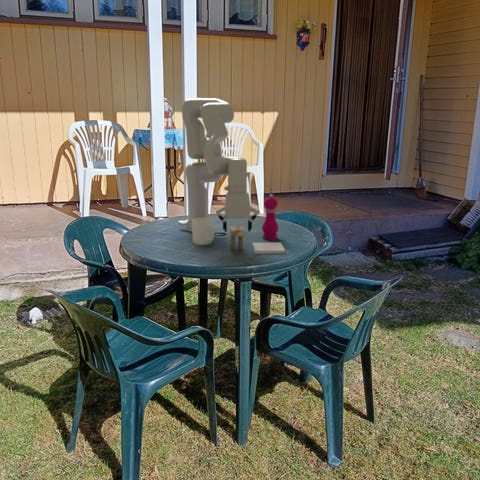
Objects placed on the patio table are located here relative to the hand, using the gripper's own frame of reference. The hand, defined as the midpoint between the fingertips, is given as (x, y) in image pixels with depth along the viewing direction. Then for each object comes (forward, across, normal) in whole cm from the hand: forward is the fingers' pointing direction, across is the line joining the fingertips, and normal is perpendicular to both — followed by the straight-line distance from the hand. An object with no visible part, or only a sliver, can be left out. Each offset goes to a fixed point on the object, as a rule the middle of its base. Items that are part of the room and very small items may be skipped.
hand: (237, 231), depth 201 cm
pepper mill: (+7, +16, +17) cm, 24 cm away
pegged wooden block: (+7, 0, +1) cm, 7 cm away
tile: (+8, +13, -1) cm, 15 cm away
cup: (+7, -13, +9) cm, 17 cm away
